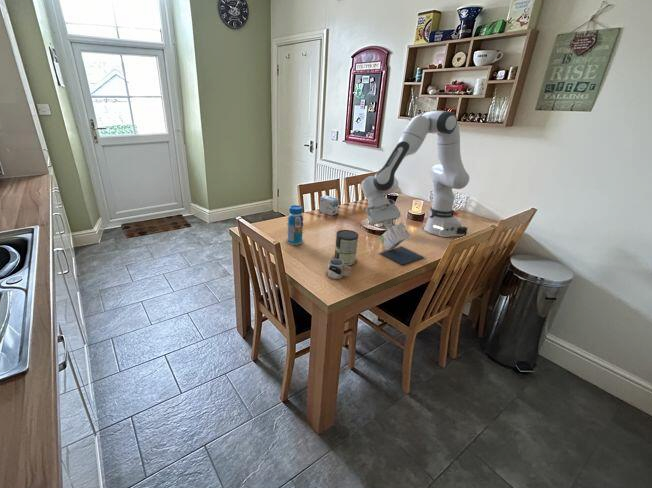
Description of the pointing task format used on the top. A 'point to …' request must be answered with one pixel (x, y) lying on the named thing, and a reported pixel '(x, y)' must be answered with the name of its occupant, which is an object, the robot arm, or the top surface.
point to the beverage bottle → (295, 225)
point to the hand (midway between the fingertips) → (390, 228)
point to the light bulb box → (329, 205)
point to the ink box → (394, 236)
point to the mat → (402, 255)
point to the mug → (337, 269)
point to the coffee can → (346, 246)
